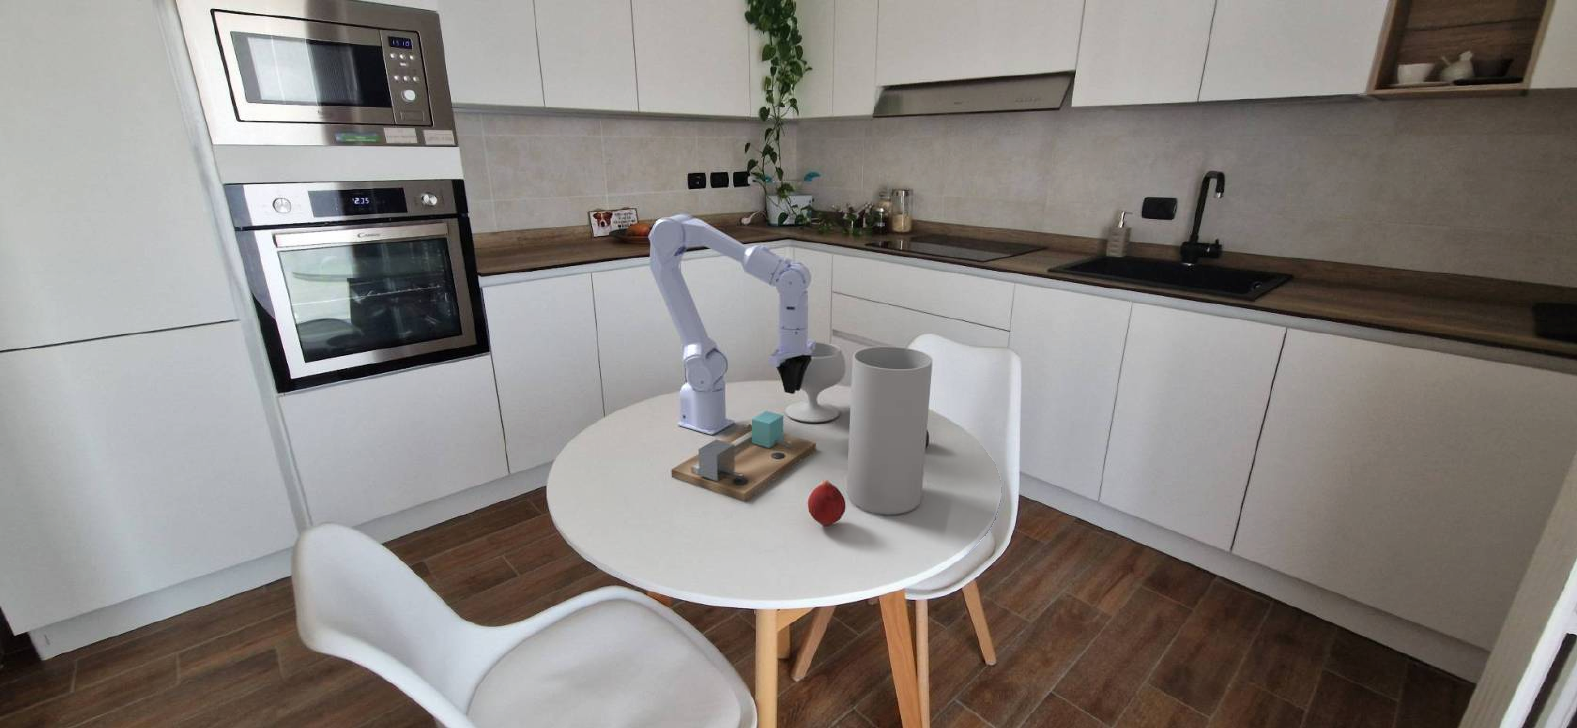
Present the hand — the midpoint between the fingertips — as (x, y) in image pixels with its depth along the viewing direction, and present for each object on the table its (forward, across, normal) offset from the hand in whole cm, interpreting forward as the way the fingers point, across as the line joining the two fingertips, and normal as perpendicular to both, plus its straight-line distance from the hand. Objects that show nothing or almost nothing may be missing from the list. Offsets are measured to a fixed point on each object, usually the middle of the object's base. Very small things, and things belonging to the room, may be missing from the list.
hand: (792, 391), depth 135 cm
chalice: (+10, +12, +2) cm, 15 cm away
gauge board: (+9, -16, 0) cm, 19 cm away
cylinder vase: (+10, -14, -27) cm, 32 cm away
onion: (+10, -27, -23) cm, 37 cm away
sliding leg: (+8, -9, -2) cm, 12 cm away
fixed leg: (+8, -25, -2) cm, 26 cm away
